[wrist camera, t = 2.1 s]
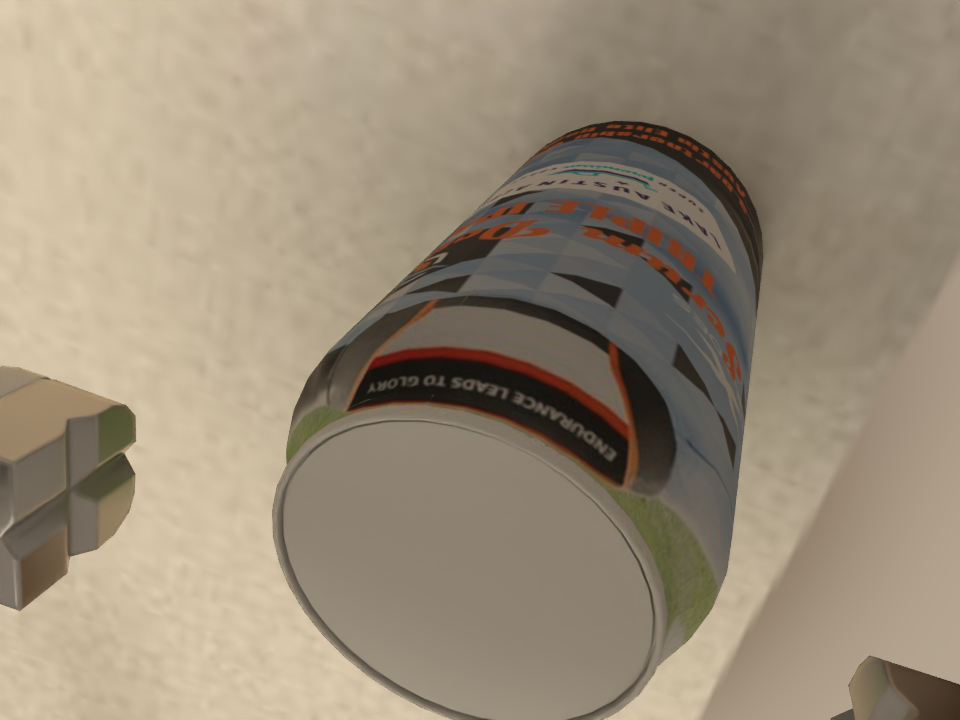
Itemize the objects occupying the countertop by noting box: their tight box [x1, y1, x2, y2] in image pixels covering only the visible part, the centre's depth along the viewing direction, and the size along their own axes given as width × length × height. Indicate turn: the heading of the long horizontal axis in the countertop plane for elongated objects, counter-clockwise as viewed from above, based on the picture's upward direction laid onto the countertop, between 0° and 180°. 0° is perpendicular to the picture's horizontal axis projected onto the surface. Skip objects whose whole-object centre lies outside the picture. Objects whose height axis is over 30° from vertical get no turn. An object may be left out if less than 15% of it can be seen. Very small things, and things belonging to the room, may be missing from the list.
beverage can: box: [272, 121, 763, 720], centre depth 14 cm, size 6×7×12 cm
